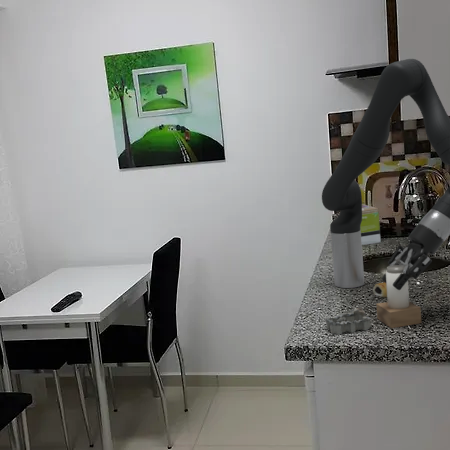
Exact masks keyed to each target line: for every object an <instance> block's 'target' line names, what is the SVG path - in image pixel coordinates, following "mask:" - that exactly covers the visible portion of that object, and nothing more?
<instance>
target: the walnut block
mask: <svg viewBox="0 0 450 450" xmlns="http://www.w3.org/2000/svg"><path fill="white" fill-rule="evenodd" d="M376 317H377V320H379V321H380V322H382V323H383V324H384V325H385V326H388V327H389V328H390V329H395V328H400V327H406V326H412V325H418V324H422V309H421V307H420V306H419V305H417V304H415V303H414V302H412V301H410V300H409V307H407V308H403V309H393V308H389V307H388V301H385V302H378V303H376Z"/></svg>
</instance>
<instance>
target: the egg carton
mask: <svg viewBox="0 0 450 450" xmlns="http://www.w3.org/2000/svg"><path fill="white" fill-rule="evenodd" d="M324 320H325V322H326V323H325V324H326V325H325V326H326V330H330V334H337V335H342V334H343V333H345V332H349V333H355V332H356V331H357V330H363V331H368V330H369V329H371V327H372V326H371V324H372V323H371V321H373V319H372V317H370V316H369V315H368V314H367V313H366V312H365V311H364V309H363V307H356V308H352V309H350V311H349V312H344V313H342V314H339V315H334V316H332V317H324Z"/></svg>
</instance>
